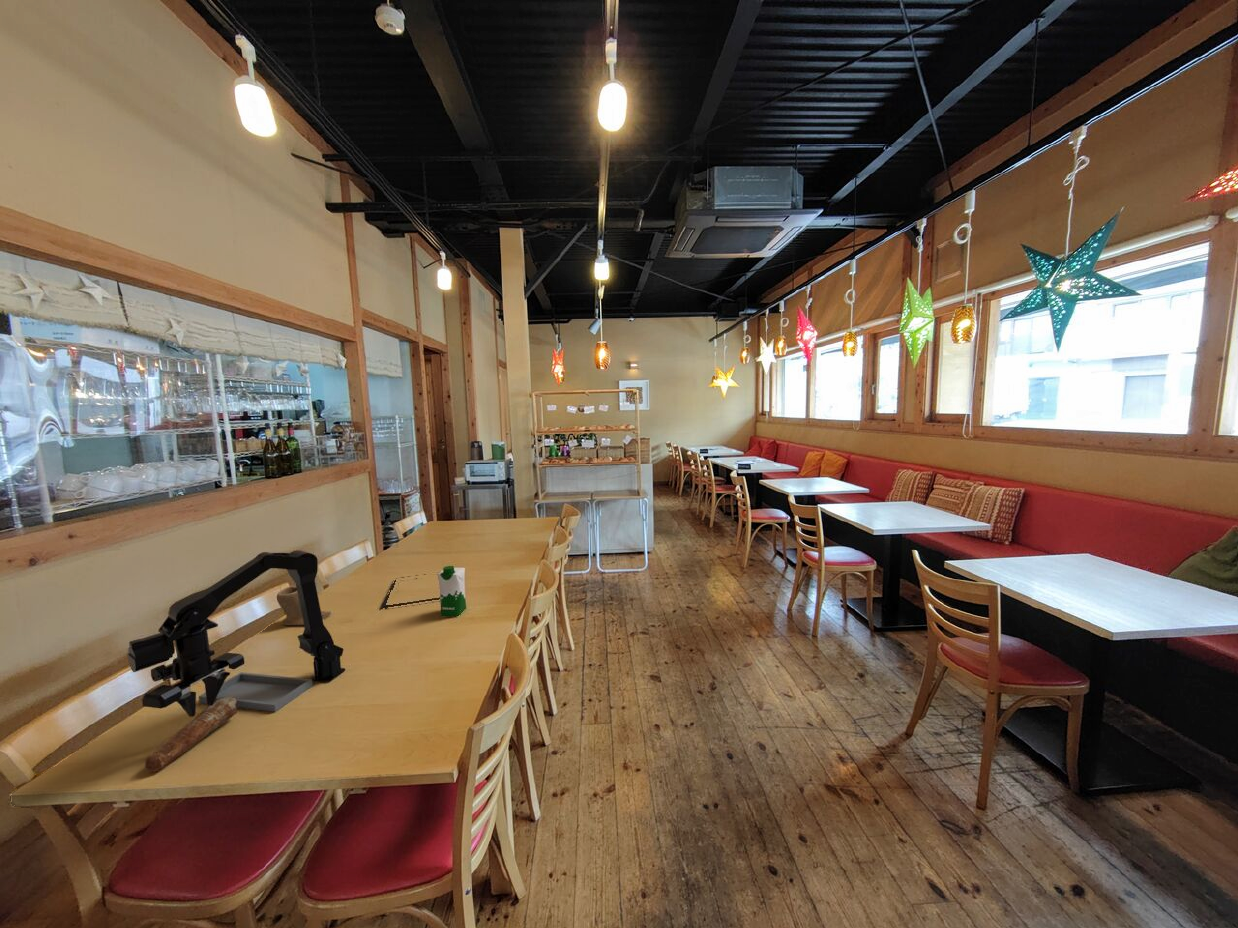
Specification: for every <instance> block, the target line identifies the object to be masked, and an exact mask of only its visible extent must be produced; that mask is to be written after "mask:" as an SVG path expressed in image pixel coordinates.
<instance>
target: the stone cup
mask: <svg viewBox="0 0 1238 928" xmlns="http://www.w3.org/2000/svg"><path fill="white" fill-rule="evenodd" d="M276 600H277V601H276V602H277V603H278V605H279V607H280V608H281V609H282V610H283V612H284V613H285V616H286V617H285V618H284V619H282V621H281V625H283V626H304V622H303V617H302V612H301V607H300V603H299V598H298V593H297V588H296V584H293V585H290V586H287V587H285V588H283V589H282V590H280V591H279V592H278V593H277V594H276ZM321 614H322V619H324V620H326V619H327V618H328V617H330V616H331V614H332V611H321Z"/></svg>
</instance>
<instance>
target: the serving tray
mask: <svg viewBox="0 0 1238 928" xmlns="http://www.w3.org/2000/svg"><path fill="white" fill-rule="evenodd" d="M312 687H313V680H312V679H311V678H302V677H300V678H299V677H291V676H279V675H271V674H262V673H254V672H253V673H251V672H241V671H240V672H239V673H237V674H236V675H234V676H232V677H230V678H228V679H226V680H225V681H224V683H223V685H222V687H221V689H220V691H219V693H218V695H217V697H216V700H215V701H217V700H218V699H222V698H225V697H233V698H236V699H237V703H236V706H237V709H242V710H251V711H259V712H269V713H277V712H278V711H280V710H281V709H282V708H284V707H285V706H286V705H288V704H290V703H291V702H292V701H294V700H295V699H297V698H298V697H300V696H301V695H302V694H303V693H305V692H306V691H307V690H309V689H310V688H311V689H312ZM198 700H199V701H198V702H199V704H201V705H208V703H207V698H206V691H205V692H203V693H202V694H200V695H198ZM208 706H209V705H208Z"/></svg>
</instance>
